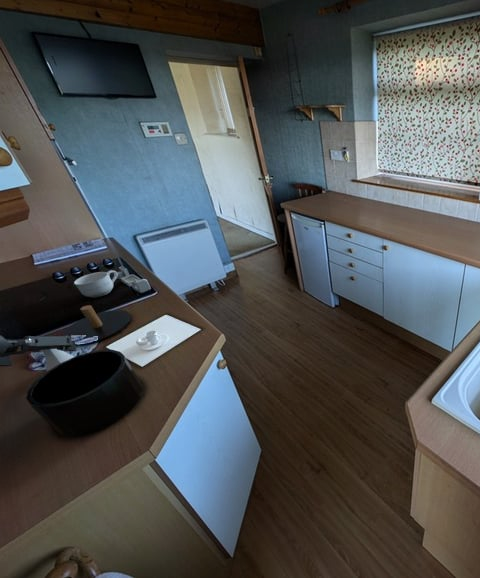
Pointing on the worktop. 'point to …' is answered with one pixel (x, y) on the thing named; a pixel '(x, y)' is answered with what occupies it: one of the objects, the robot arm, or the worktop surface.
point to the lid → (99, 323)
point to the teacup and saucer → (153, 339)
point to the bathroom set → (133, 280)
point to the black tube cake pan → (86, 392)
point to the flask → (55, 357)
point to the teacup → (96, 284)
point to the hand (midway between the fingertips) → (42, 353)
